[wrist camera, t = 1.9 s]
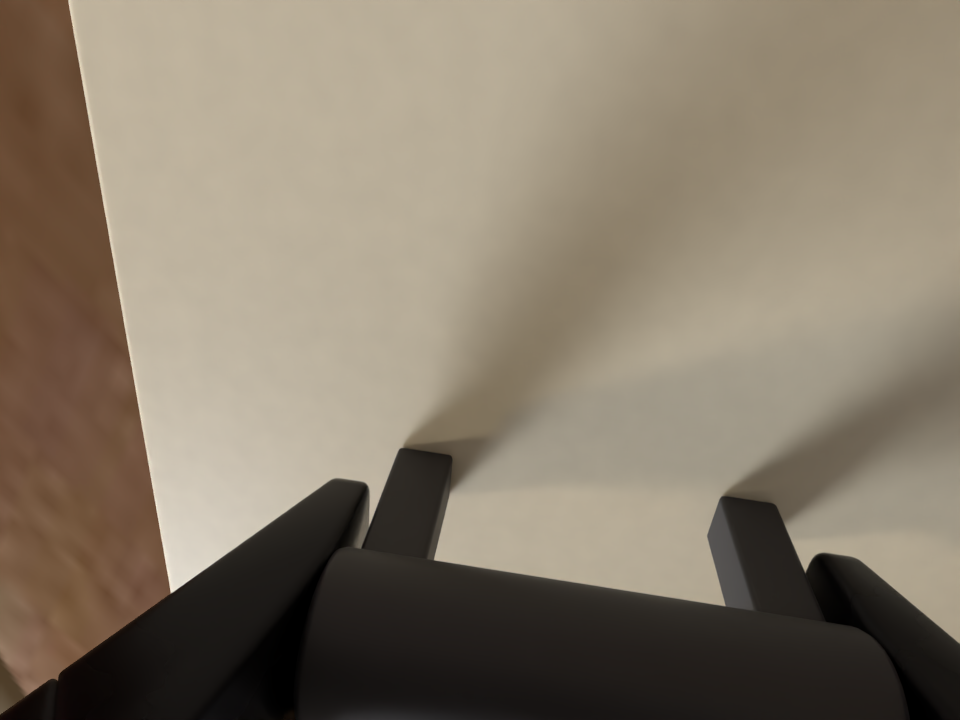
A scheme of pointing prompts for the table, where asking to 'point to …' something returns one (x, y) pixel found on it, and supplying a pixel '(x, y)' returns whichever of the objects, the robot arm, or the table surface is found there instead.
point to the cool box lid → (550, 333)
